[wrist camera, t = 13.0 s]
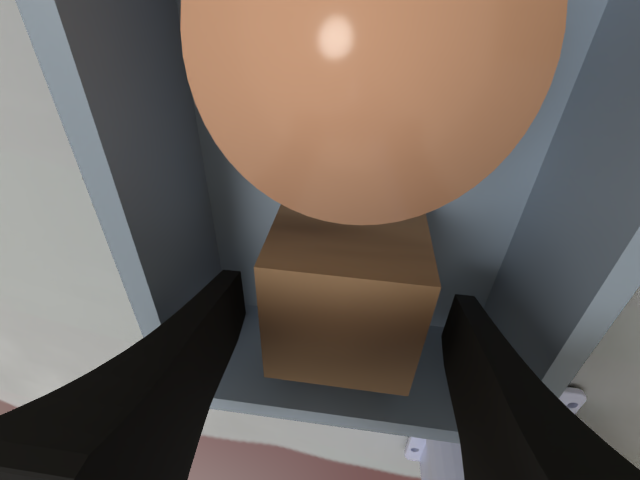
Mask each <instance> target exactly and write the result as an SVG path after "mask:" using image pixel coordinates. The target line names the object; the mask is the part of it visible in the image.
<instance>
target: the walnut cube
mask: <svg viewBox="0 0 640 480" xmlns="http://www.w3.org/2000/svg"><path fill="white" fill-rule="evenodd" d="M254 275H255V286H256V297H257V307H258V318H259V329H260V340H261V350H262V361H263V372H264V377H267V378H274V379H282V380H289V381H297V382H304V383H312V384H319V385H327V386H334V387H341V388H349V389H356V390H364V391H371V392H379V393H386V394H394V395H401V396H409V392H410V389H411V386H412V382H413V379H414V376H415V373H416V369H417V366H418V363H419V359H420V356H421V353H422V349H423V346H424V343H425V340H426V336H427V333H428V330H429V326H430V323H431V320H432V316H433V313H434V310H435V307H436V303H437V300H438V297H439V293H440V290H441V284H440V279H439V274H438V269H437V265H436V260H435V255H434V250H433V246H432V241H431V236H430V231H429V226H428V222H427V217H426V214H423V215H421V216H418V217H414V218H410V219H407V220H403V221H399V222H393V223H387V224H379V225H347V224H339V223H333V222H327V221H323V220H319V219H316V218H312V217H309V216H306V215H303V214H301V213H299V212H296V211H294V210H291V209H289V208H287V207H285V206H283V205H282V204H281V205H280V207H279V210H278V212H277V214H276V217H275V219H274V221H273V224H272V226H271V228H270V231H269V233H268V235H267V238H266V240H265V242H264V245H263V247H262V249H261V251H260V254H259V256H258V258H257V261H256V263H255V265H254Z"/></svg>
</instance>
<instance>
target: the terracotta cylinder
mask: <svg viewBox="0 0 640 480" xmlns="http://www.w3.org/2000/svg"><path fill="white" fill-rule="evenodd" d="M567 3H568V0H181V22H180V31H181V42H182V52H183V59H184V64H185V69H186V74H187V79H188V82H189V86H190V89H191V92H192V95H193V98H194V101H195V104H196V106H197V108H198V111H199V113H200V115H201V117H202V120H203V122H204V124H205V126H206V128H207V129H208V131H209V133H210V134H211V136H212V138H213V140H214V141H215V143H216V145H217V146H218V147H219V149H220V150H221V151H222V153H223V154H224V155H225V157H226V158H227V159H228V161H229V162H230V163H231V164H232V165H233V166H234V167H235V168H236V169H237V171H238V172H239V173H240V174H241V175H242V176H243V177H244V178H245V179H247V180H248V181H249V182H250V183H251V184H252V185H253V186H255V187H256V188H257V189H258V190H260V191H261V192H263V193H264V194H265V195H267V196H268V197H270V198H271V199H273V200H274V201H276V202H278V203H280V204H282V205H283V206H285V207H287V208H289V209H291V210H294V211H296V212H299V213H301V214H303V215H306V216H309V217H312V218H316V219H319V220H323V221H327V222H333V223H339V224H347V225H379V224H387V223H393V222H399V221H403V220H407V219H410V218H414V217H418V216H421V215H423V214H426V213H428V212H431V211H433V210H436V209H438V208H440V207H442V206H444V205H446V204H448V203H450V202H452V201H453V200H455V199H457V198H459V197H460V196H462V195H463V194H465V193H466V192H468V191H469V190H471V189H472V188H474V187H475V186H476V185H477V184H479V183H480V182H481V181H482V180H483V179H485V178H486V177H487V176H488V175H489V174H491V173H492V172H493V171H494V170H495V169H496V168H497V167H498V166H499V165H500V164H501V163H502V161H503V160H504V159H505V158H506V157H507V156H508V155H509V154H510V153H511V152H512V150H513V149H514V148H515V146H516V145H517V144H518V143H519V141H520V140H521V139H522V137H523V136H524V135H525V133H526V132H527V130H528V128H529V127H530V125H531V123H532V122H533V120H534V118H535V117H536V115H537V113H538V112H539V110H540V108H541V105H542V103H543V101H544V99H545V97H546V95H547V92H548V90H549V88H550V86H551V83H552V80H553V77H554V74H555V71H556V68H557V65H558V62H559V59H560V54H561V49H562V44H563V39H564V34H565V29H566V16H567Z"/></svg>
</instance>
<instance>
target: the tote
mask: <svg viewBox="0 0 640 480" xmlns="http://www.w3.org/2000/svg"><path fill="white" fill-rule="evenodd" d="M15 1H16V3H17V6H18V9H19V11H20V14H21V17H22V19H23V22H24V25H25V27H26V30H27V32H28V35H29V38H30V40H31V43H32V46H33V48H34V51H35V53H36V56H37V59H38V61H39V64H40V67H41V69H42V72H43V74H44V77H45V80H46V82H47V85H48V88H49V90H50V93H51V96H52V98H53V101H54V103H55V106H56V109H57V111H58V114H59V117H60V119H61V122H62V124H63V127H64V130H65V132H66V135H67V138H68V140H69V143H70V146H71V148H72V151H73V153H74V156H75V159H76V161H77V164H78V167H79V169H80V172H81V174H82V177H83V180H84V182H85V185H86V188H87V190H88V193H89V195H90V198H91V201H92V203H93V206H94V209H95V211H96V214H97V217H98V219H99V222H100V224H101V227H102V230H103V232H104V235H105V238H106V240H107V243H108V245H109V248H110V251H111V253H112V256H113V259H114V261H115V264H116V267H117V269H118V272H119V274H120V277H121V280H122V282H123V285H124V288H125V290H126V293H127V295H128V298H129V301H130V303H131V306H132V309H133V311H134V314H135V316H136V319H137V322H138V324H139V327H140V330H141V332H142V335H143V338H144V337H145V336H147V335H148V334H149V333H151V332H152V331H153V330H155V329H156V328H157V327H159V326H160V325H161V324H162V323H164V322H165V321H166V320H167V319H168V318H170V317H171V316H172V315H173V314H175V313H176V312H177V311H178V310H179V309H180V308H182V307H183V306H184V305H185V304H186V303H187V302H188V301H190V300H191V299H192V298H193V297H194V296H195V295H196V294H197V293H198V292H200V291H201V290H202V289H203V288H204V287H205V286H206V285H207V284H208V283H209V282H210V281H211V280H212V279H213V278H215V277H216V276H217V275H218V274H219V273H220V272H221V271H222V270H233V271H241V278H242V286H243V294H244V302H245V309H246V315H245V319H244V322H243V326H242V329H241V333H240V336H239V339H238V342H237V344H236V347H235V349H234V351H233V354H232V356H231V358H230V361H229V363H228V365H227V368H226V370H225V372H224V375H223V377H222V379H221V382H220V384H219V386H218V388H217V391H216V393H215V395H214V398H213V400H212V403H211V406H210V408H209V409H216V410H223V411H230V412H237V413H244V414H251V415H258V416H266V417H273V418H280V419H287V420H294V421H301V422H308V423H315V424H323V425H330V426H337V427H344V428H351V429H358V430H365V431H372V432H379V433H387V434H394V435H401V436H408V437H415V438H422V439H429V440H436V441H444V442H451V443H458V444H460V440H459V434H458V429H457V425H456V420H455V415H454V411H453V406H452V402H451V397H450V392H449V388H448V383H447V378H446V374H445V369H444V362H443V352H442V339H441V335H442V332H443V329H444V326H445V323H446V320H447V317H448V314H449V311H450V308H451V305H452V302H453V299H454V296H455V294H460V295H469V296H475V298H476V299H477V300H478V302H479V303H480V304H481V306H482V307H483V308H484V310H485V311H486V312H487V314H488V315H489V317H490V318H491V319H492V321H493V322H494V323H495V325H496V326H497V327H498V329H499V330H500V331H501V333H502V334H503V335H504V337H505V338H506V339H507V340H508V342H509V343H510V344H511V346H512V347H513V348H514V349H515V351H516V352H517V353H518V354H519V356H520V357H521V358H522V359H523V360H524V362H525V363H526V364H527V365H528V366H529V367H530V369H531V370H532V371H533V372H534V373H535V374H536V375H537V376H538V378H539V379H540V380H541V381H542V382H543V383H544V384H545V385H546V386H547V387H548V388H549V389H550V390H551V391H552V392H553V393H554V394H555V395H556V396H557V397H558V398H560V396H561V395H562V393H563V392H564V391H565V389H566V388H567V386H568V385H569V384H570V382H571V381H572V379H573V378H574V377H575V375H576V374H577V373H578V371H579V370H580V368H581V367H582V366H583V364H584V363H585V361H586V360H587V359H588V357H589V356H590V354H591V353H592V352H593V350H594V349H595V347H596V346H597V345H598V343H599V342H600V340H601V339H602V338H603V336H604V335H605V333H606V332H607V331H608V329H609V328H610V326H611V325H612V324H613V322H614V321H615V319H616V318H617V317H618V315H619V314H620V313H621V311H622V310H623V308H624V307H625V306H626V304H627V303H628V301H629V300H630V299H631V297H632V296H633V294H634V293H635V292H636V290H637V289H638V287H639V286H640V0H568V3H567V16H566V29H565V34H564V39H563V44H562V49H561V54H560V59H559V62H558V65H557V68H556V71H555V74H554V77H553V80H552V83H551V86H550V88H549V90H548V92H547V95H546V97H545V99H544V101H543V103H542V105H541V108H540V110H539V112H538V113H537V115H536V117H535V118H534V120H533V122H532V123H531V125H530V127H529V128H528V130H527V132H526V133H525V135H524V136H523V137H522V139H521V140H520V141H519V143H518V144H517V145H516V146H515V148H514V149H513V150H512V152H511V153H510V154H509V155H508V156H507V157H506V158H505V159H504V160H503V161H502V163H501V164H500V165H499V166H498V167H497V168H496V169H495V170H494V171H493V172H492V173H491V174H489V175H488V176H487V177H486V178H485V179H483V180H482V181H481V182H480V183H479V184H477V185H476V186H475V187H474V188H472V189H471V190H469V191H468V192H466V193H465V194H463V195H462V196H460V197H459V198H457V199H455V200H453V201H452V202H450V203H448V204H446V205H444V206H442V207H440V208H438V209H436V210H433V211H431V212H428V213H426V217H427V222H428V226H429V231H430V236H431V241H432V246H433V250H434V255H435V260H436V265H437V269H438V274H439V279H440V284H441V290H440V293H439V297H438V300H437V303H436V307H435V310H434V313H433V316H432V320H431V323H430V326H429V330H428V333H427V336H426V340H425V343H424V346H423V349H422V353H421V356H420V359H419V363H418V366H417V369H416V373H415V376H414V379H413V382H412V386H411V389H410V392H409V396H401V395H394V394H386V393H379V392H371V391H364V390H356V389H349V388H341V387H334V386H327V385H319V384H312V383H304V382H297V381H289V380H282V379H274V378H267V377H264V372H263V361H262V350H261V340H260V329H259V318H258V307H257V297H256V286H255V275H254V265H255V263H256V261H257V258H258V256H259V254H260V251H261V249H262V247H263V245H264V242H265V240H266V238H267V235H268V233H269V231H270V228H271V226H272V224H273V221H274V219H275V217H276V214H277V212H278V210H279V207H280V205H281V204H280V203H278V202H276V201H274V200H273V199H271V198H270V197H268V196H267V195H265V194H264V193H263V192H261V191H260V190H258V189H257V188H256V187H255V186H253V185H252V184H251V183H250V182H249V181H248V180H247V179H245V178H244V177H243V176H242V175H241V174H240V173H239V172H238V171H237V169H236V168H235V167H234V166H233V165H232V164H231V163H230V162H229V161H228V159H227V158H226V157H225V155H224V154H223V153H222V151H221V150H220V149H219V147H218V146H217V145H216V143H215V141H214V140H213V138H212V136H211V134H210V133H209V131H208V129H207V128H206V126H205V124H204V122H203V120H202V117H201V115H200V113H199V111H198V108H197V106H196V104H195V101H194V98H193V95H192V92H191V89H190V86H189V82H188V79H187V74H186V69H185V64H184V59H183V52H182V42H181V31H180V22H181V0H15Z"/></svg>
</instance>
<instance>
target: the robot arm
mask: <svg viewBox="0 0 640 480" xmlns="http://www.w3.org/2000/svg"><path fill="white" fill-rule="evenodd" d="M245 315H246V309H245V302H244V294H243V286H242V278H241V271H233V270H222V271H221V272H220V273H219V274H218V275H217V276H216V277H215V278H213V279H212V280H211V281H210V282H209V283H208V284H207V285H206V286H205V287H204V288H203V289H202V290H201V291H200V292H198V293H197V294H196V295H195V296H194V297H193V298H192V299H191V300H190V301H188V302H187V303H186V304H185V305H184V306H183V307H182V308H180V309H179V310H178V311H177V312H176V313H175V314H173V315H172V316H171V317H170V318H168V319H167V320H166V321H165V322H164V323H162V324H161V325H160V326H159V327H157V328H156V329H155V330H153V331H152V332H151V333H149V334H148V335H147V336H145V337H144V338H143V339H141V340H140V341H138V342H137V343H136V344H134V345H133V346H131V347H130V348H128V349H127V350H125V351H124V352H122V353H121V354H119V355H117V356H116V357H114V358H112V359H111V360H109V361H107V362H106V363H104V364H102V365H101V366H99V367H97V368H96V369H94V370H92V371H91V372H89V373H87V374H85V375H83V376H82V377H80V378H78V379H76V380H74V381H72V382H70V383H68V384H66V385H65V386H63V387H61V388H59V389H57V390H55V391H53V392H51V393H49V394H47V395H44V396H42V397H40V398H38V399H36V400H34V401H31V402H29V403H27V404H25V405H23V406H20V407H18V408H16V409H14V410H12V411H10V412H7V413H5V414H2V415H0V480H187V479H188V476H189V472H190V468H191V465H192V462H193V459H194V455H195V452H196V449H197V445H198V442H199V439H200V436H201V432H202V429H203V426H204V423H205V420H206V417H207V414H208V411H209V408H210V406H211V403H212V400H213V398H214V395H215V393H216V391H217V388H218V386H219V384H220V382H221V379H222V377H223V375H224V372H225V370H226V368H227V365H228V363H229V361H230V358H231V356H232V354H233V351H234V349H235V347H236V344H237V342H238V339H239V336H240V333H241V329H242V326H243V322H244V319H245ZM441 339H442V352H443V362H444V369H445V374H446V378H447V383H448V388H449V392H450V397H451V402H452V406H453V411H454V415H455V420H456V425H457V429H458V434H459V440H460V444H458V443H451V442H444V441H436V440H429V439H422V438H415V437H409V439H408V442H407V445H406V448H405V457H406V459H408V460H412V461H419V462H420V471H421V480H640V470H639V469H638V468H636V467H635V466H634V465H633V464H631V463H630V462H629V461H628V460H626V459H625V458H624V457H623V456H622V455H620V454H619V453H618V452H617V451H616V450H614V449H613V448H612V447H611V446H610V445H608V444H607V443H606V442H605V441H604V440H603V439H601V438H600V437H599V436H598V435H597V434H596V433H595V432H594V431H592V430H591V429H590V428H589V427H588V426H587V425H586V424H585V423H583V422H582V421H581V420H580V419H579V418H578V417H577V416H576V415H575V414H576V413H577V411H578V410H579V409H580V408H581V406H582V405H583V404H584V403H585V401H586V400H587V397H586V395H585V393H584V391H583V390H581V389H578V388H571V387H567V388H566V389H565V391H564V392H563V393H562V395H561V396H560V398H558V397H557V396H556V395H555V394H554V393H553V392H552V391H551V390H550V389H549V388H548V387H547V386H546V385H545V384H544V383H543V382H542V381H541V380H540V379H539V378H538V376H537V375H536V374H535V373H534V372H533V371H532V370H531V369H530V367H529V366H528V365H527V364H526V363H525V362H524V360H523V359H522V358H521V357H520V356H519V354H518V353H517V352H516V351H515V349H514V348H513V347H512V346H511V344H510V343H509V342H508V340H507V339H506V338H505V337H504V335H503V334H502V333H501V331H500V330H499V329H498V327H497V326H496V325H495V323H494V322H493V321H492V319H491V318H490V317H489V315H488V314H487V312H486V311H485V310H484V308H483V307H482V306H481V304H480V303H479V302H478V300H477V299H476V298H475V296H469V295H460V294H455V296H454V299H453V302H452V305H451V308H450V311H449V314H448V317H447V320H446V323H445V326H444V329H443V332H442V335H441Z"/></svg>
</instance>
